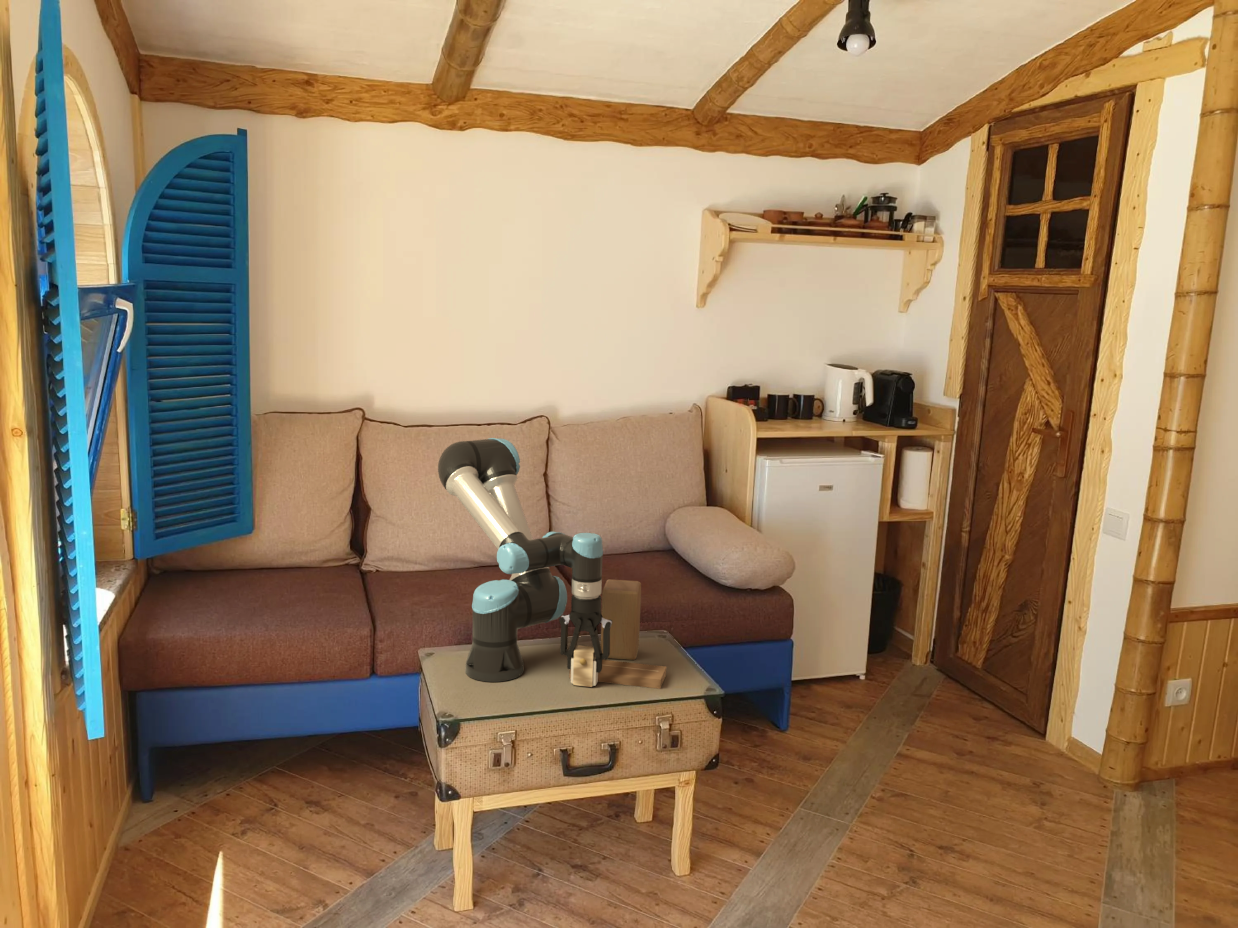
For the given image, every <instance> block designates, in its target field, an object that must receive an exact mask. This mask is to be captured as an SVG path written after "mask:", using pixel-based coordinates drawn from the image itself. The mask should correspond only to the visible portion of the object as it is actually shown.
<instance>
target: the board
mask: <svg viewBox="0 0 1238 928" xmlns="http://www.w3.org/2000/svg"><path fill="white" fill-rule="evenodd" d="M568 670H569V671H568V672H569V675H568V678H569V679H571V669H568ZM666 677H667V666H664V665H663V666H662V665H654V664H647V663H645V664H644V663H637V662H630V661H629V662H627V661H619V660H611V659H610V660H609V659H606V660H605V659H604V660H602V670H601V672H600V673H598V682H600V683H608V684H613V685H614V684H616V685H624V686H631V687H640V688H641V687H642V688H650V689H659V690H661V689H662V685H663V683H664V681H665V678H666ZM598 682H597V683H598Z"/></svg>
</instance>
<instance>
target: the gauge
mask: <svg viewBox="0 0 1238 928" xmlns="http://www.w3.org/2000/svg"><path fill="white" fill-rule="evenodd" d="M573 656H574V667H573V683H572V686H580V687H589V688H590V687H591V688H592V687H593V686H592V685H593V661H594V659H595V658H596V657H595V653H594V648H593V646H590V645H579V644H578V645H576V648H575V650H574V654H573Z"/></svg>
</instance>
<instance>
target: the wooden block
mask: <svg viewBox="0 0 1238 928" xmlns="http://www.w3.org/2000/svg"><path fill="white" fill-rule="evenodd" d="M601 594H602V596H601V614H602V616H603V618H604V619H607V620H609V619H611V620H612V625H611V627H610V655H609V657H608V658H607V659H615V660H617V659H618V660H631V661H634V660H636V659H637V656H638V651H639V647H640V633H641V630H640V626H641V607H642V606H641V602H642V583H641V582H640V581H639V580H625V579H606V581H605V584H604V585H603V588H602V593H601ZM600 623H601V622H600ZM600 625H601V630H600V646H601V650H602V653H603V631H604V628H603V627H602V623H601V624H600Z"/></svg>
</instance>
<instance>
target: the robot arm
mask: <svg viewBox="0 0 1238 928" xmlns="http://www.w3.org/2000/svg"><path fill="white" fill-rule="evenodd" d="M520 462H521V458H520V455H519V452H518V449H516V446H515V445H514V444H513V443H512V442H511V441H510V440H507V439H505V438H495V437H489V438H486V439H475V440H474V439H473V440H466V441H465V440H461V441H457V442H453V443H451V444H450V445H448V446H447V447H446V448H445V449H444V450H443V452H442V453H441V454H440V457H439V459H438V464H437V473H438V474H437V475H438V478H439V481H440V483H441V484H442V487H444V489H445V490H446V492H447V493H448V494H449V495H452V496H454V497H456V498H457V499H458V501H459V502H460V503H461V505H462V506H463V507H464V508H465V510H466V511H467V512H468V514H470V516H471V518H472V519H473V520H474V521H475V522H476V523H477V525H478V526H479V527H480V529H482V531H483V533H484V534H485V535H486V536H487V538H488V539H489V540H490V541H491V543H492V544H493V545H494V546H495V548H496V549H497V552H496V561H497V563H498V567H499V569H500V570H501V571H502V572H503V573H505V574H507V575H511V576H510V578H509V579H500V580H498V579H495V580H494V579H493V580H489V581H487V582H484V583H481V584H480V585H477V587H476V588H475V590H474V591H473V595H472V604H471V608H472V644H471V646H470V649H469V652H468V654H467V657H466V661H465V669H464V670H465V674H466V676H468V677H469V678H471V679H474V680H476V681H481V682H487V683H488V682H489V683H491V682H493V683H496V682H507V681H511V680H513V679H516V678H519V677H520V676H521V675H522V674H523V673H524V667H525V666H524V665H525V663H524V660H523V657H522V654H521V650H520V647H519V645H518V644H519V643H518V630H519V629H524V628H528V627H531V626H537V625H540V624H546V623H549V622H553V621H554V620H558V621H559V624H560V646H559V647H560V648H559V649H560V651H559V653H560V655H561V656H566V657H567V659H566V660H567V661H566V665H567V666H566V668H567V669H568V670H569V669H571V678H570V684H573V667H574V650H575V649H576V648H577V646H578V645H577V644H578V642H579V641H578V640H579V637H580V635H581V634H580V633H581V632H584V631H585V632H587V633H588V634H589V636H590V638H591V639H590V640H591V644H592V647H593V648H594V653H595V657H596V658H595V659H594V661H593V685H592V687H594V686H596V685H597V684H598V673H600V672H601V670H602V660H608V659H609V658H608V657H609V655H610V627H611V625H612V620H611V619H609V620H607V619H604V618H603V616H602V596H601V594H602V591H603V588H602V586H603V583H602V581H603V579H602V578H603V577H602V576H603V556H604V555H603V554H604V550H603V538H602V537H601V535H599V534H597V533H590V532H581V533H576V534H574V536H570V535H568V534H565V533H563V532H559V531H549V532H547V533H545V534H544V535H543V536H542V537H541V538H535V539H534V538H533V535H532V531H531V529H530V527H529V524H528V520H527V517H526V515H525V512H524V510H523V506H522V504H521V500H520V498H519V495H518V492H517V489H516V487H515V484H516V482H517V481H518V476H517V475H518V474H519V472H520V468H521V465H520ZM560 565H561V566H564V567H565V566H566V567H567V568H570V569H572V570H571V572H572V574H571V594H572V595H571V600H570V601H571V602H570V603H571V604H570V606H571V608H570V613H569V614H568V615H566V614H564V613H565V611H566V607H567V605H568V592H567V587H566V584H565V582H564V581H563V580H562V579H561V578H560V577H559V576H556V575H552V572H551V569H550V568H551V567H554V566H560ZM570 622H571V623H572V624H573V626H574V629H573V634H572V638H571V641H570V644H569V647H568V643H569V641H568V640H569V639H568V638H569V623H570ZM600 623H602V627H603V628H604V631H603V653H602V650H601V640H600V638H599V633H598V626H599V625H600Z"/></svg>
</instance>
